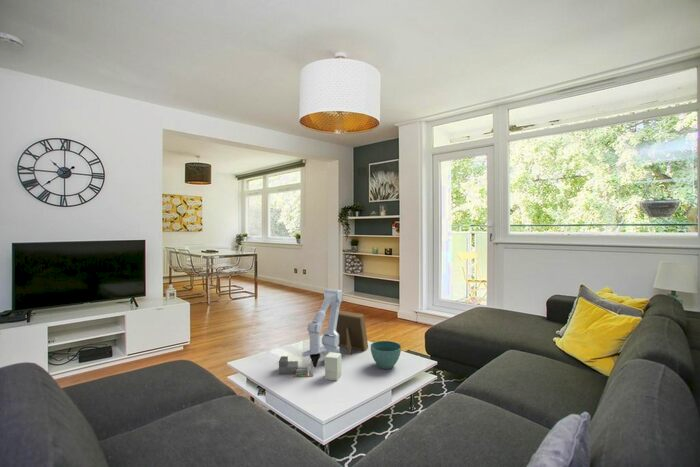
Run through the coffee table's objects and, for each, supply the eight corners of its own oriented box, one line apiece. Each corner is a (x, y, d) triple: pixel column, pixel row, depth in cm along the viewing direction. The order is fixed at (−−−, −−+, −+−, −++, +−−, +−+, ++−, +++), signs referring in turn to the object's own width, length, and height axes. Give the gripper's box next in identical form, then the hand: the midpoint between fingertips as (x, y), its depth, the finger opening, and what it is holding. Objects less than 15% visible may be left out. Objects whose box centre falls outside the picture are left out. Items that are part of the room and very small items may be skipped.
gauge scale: (313, 373, 198) (313, 373, 198) (312, 376, 195) (312, 376, 195) (293, 374, 198) (293, 373, 198) (292, 377, 194) (292, 376, 194)
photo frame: (341, 342, 248) (341, 308, 247) (368, 349, 237) (368, 312, 236) (329, 349, 236) (328, 313, 235) (356, 356, 224) (356, 318, 223)
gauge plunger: (311, 367, 206) (311, 361, 206) (309, 376, 194) (309, 369, 194) (292, 367, 206) (292, 361, 206) (290, 376, 194) (290, 370, 194)
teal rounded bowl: (365, 369, 205) (365, 348, 205) (376, 358, 221) (376, 338, 221) (395, 375, 197) (395, 353, 197) (404, 363, 214) (404, 343, 213)
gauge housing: (297, 367, 206) (297, 356, 206) (295, 373, 198) (295, 361, 198) (281, 368, 206) (281, 356, 206) (278, 374, 198) (278, 361, 198)
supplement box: (341, 375, 196) (342, 353, 196) (337, 381, 189) (337, 358, 189) (329, 373, 199) (329, 351, 198) (324, 379, 192) (324, 356, 191)
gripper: (323, 339, 209) (323, 361, 210) (300, 343, 202) (300, 366, 202) (328, 342, 203) (328, 365, 204) (305, 347, 196) (305, 371, 196)
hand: (314, 366), depth 203 cm, fingers closed
